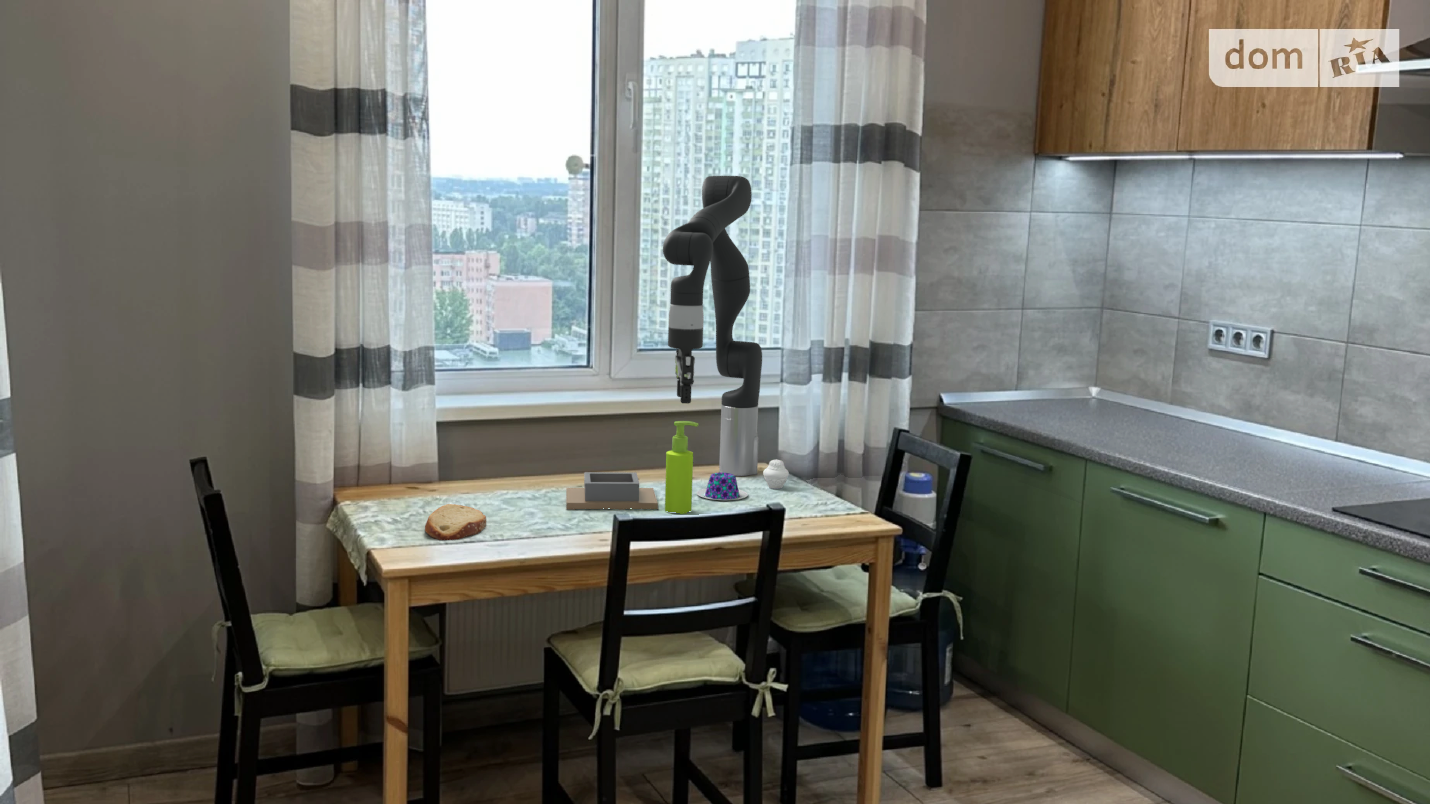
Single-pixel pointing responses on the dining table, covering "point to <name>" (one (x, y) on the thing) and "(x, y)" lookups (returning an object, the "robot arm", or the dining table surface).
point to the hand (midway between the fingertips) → (683, 400)
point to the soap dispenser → (679, 472)
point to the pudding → (722, 487)
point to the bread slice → (455, 522)
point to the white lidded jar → (776, 474)
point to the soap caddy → (611, 492)
